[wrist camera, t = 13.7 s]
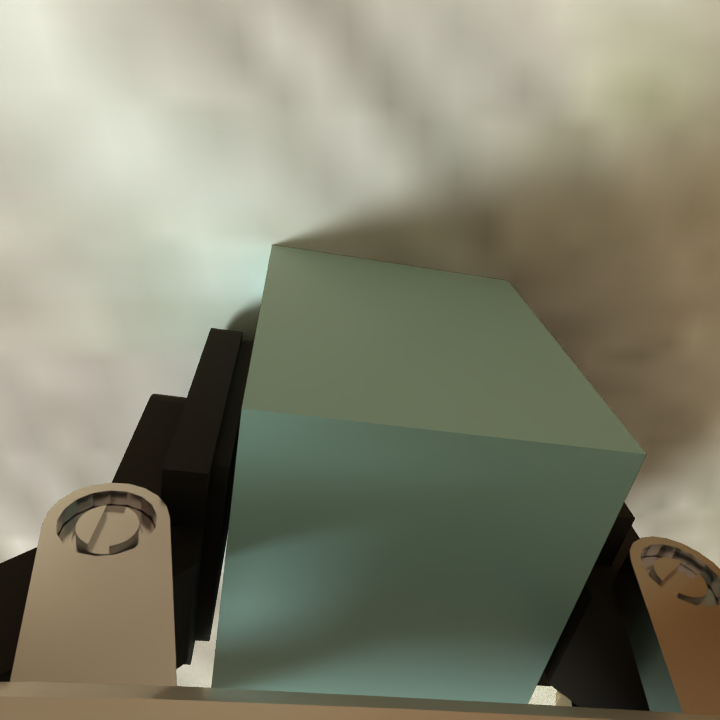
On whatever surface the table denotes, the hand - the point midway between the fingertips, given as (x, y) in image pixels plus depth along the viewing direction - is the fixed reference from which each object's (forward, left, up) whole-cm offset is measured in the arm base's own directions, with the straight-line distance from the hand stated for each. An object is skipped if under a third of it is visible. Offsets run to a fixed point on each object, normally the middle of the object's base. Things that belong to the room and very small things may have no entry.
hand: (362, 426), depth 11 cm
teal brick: (0, 0, 0) cm, 0 cm away
